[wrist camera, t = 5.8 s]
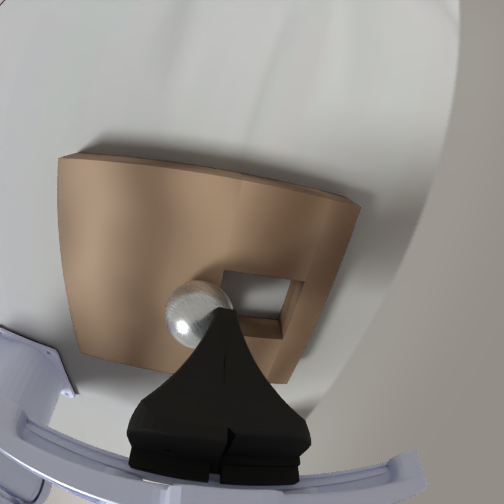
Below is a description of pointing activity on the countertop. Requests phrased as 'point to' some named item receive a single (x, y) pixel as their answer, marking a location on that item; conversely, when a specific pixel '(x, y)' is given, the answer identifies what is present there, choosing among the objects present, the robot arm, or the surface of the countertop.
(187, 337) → the steel ball
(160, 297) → the hole plate
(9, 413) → the robot arm
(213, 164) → the countertop surface
